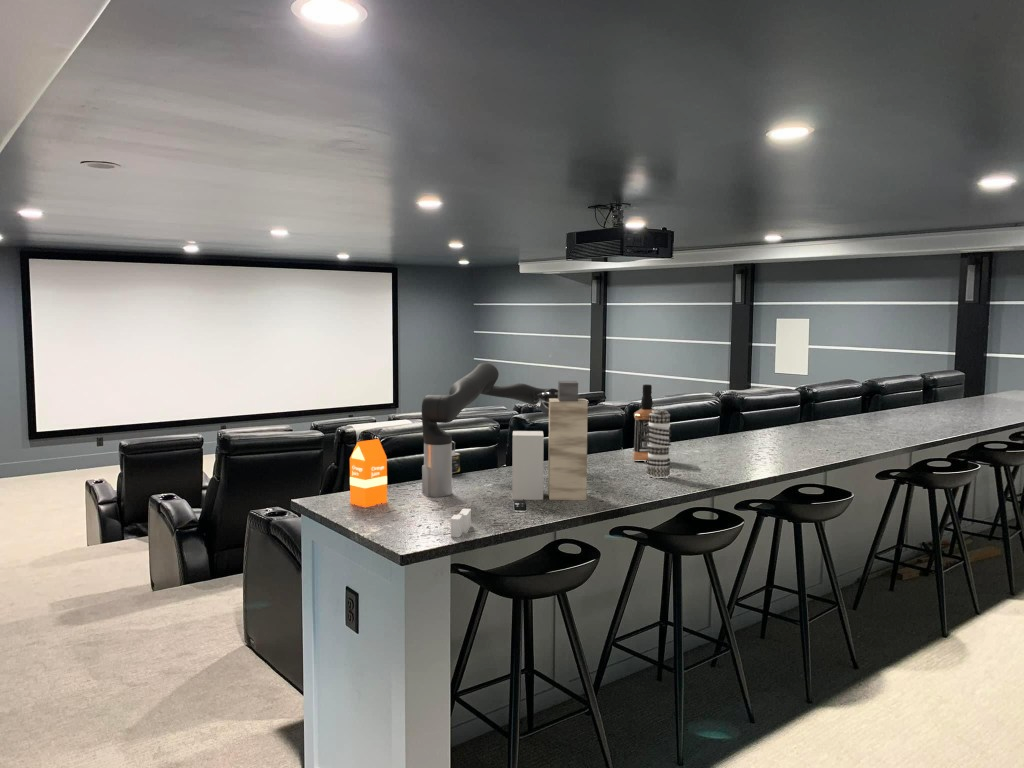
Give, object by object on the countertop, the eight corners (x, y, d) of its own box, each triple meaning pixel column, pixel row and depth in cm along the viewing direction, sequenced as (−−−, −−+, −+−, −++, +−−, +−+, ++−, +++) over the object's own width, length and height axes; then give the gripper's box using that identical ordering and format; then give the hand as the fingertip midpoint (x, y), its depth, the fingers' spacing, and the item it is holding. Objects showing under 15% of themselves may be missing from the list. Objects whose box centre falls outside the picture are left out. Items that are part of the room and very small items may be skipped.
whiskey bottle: (656, 458, 312) (658, 383, 310) (659, 462, 303) (660, 385, 300) (632, 457, 314) (633, 383, 311) (633, 462, 304) (635, 385, 301)
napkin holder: (465, 524, 209) (465, 504, 209) (493, 532, 201) (493, 511, 201) (424, 534, 199) (424, 513, 198) (451, 543, 191) (451, 521, 190)
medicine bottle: (447, 474, 277) (447, 443, 276) (433, 472, 281) (433, 441, 280) (460, 471, 282) (460, 440, 281) (446, 469, 287) (446, 439, 286)
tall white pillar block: (512, 492, 247) (512, 430, 245) (542, 492, 247) (542, 431, 245) (512, 499, 237) (512, 435, 235) (543, 499, 237) (543, 435, 235)
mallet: (556, 395, 254) (556, 378, 254) (573, 395, 254) (574, 378, 254) (559, 401, 235) (559, 382, 235) (578, 401, 235) (578, 382, 235)
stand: (548, 492, 247) (548, 398, 244) (583, 493, 247) (584, 398, 244) (549, 499, 237) (550, 401, 234) (586, 500, 237) (587, 401, 234)
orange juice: (349, 503, 231) (349, 440, 230) (371, 498, 238) (371, 437, 236) (365, 507, 226) (364, 443, 224) (387, 502, 233) (387, 440, 231)
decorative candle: (642, 474, 279) (643, 409, 277) (666, 473, 280) (667, 408, 278) (649, 479, 270) (650, 411, 268) (673, 478, 271) (675, 411, 269)
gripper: (533, 389, 279) (534, 386, 263) (570, 389, 279) (573, 385, 263) (533, 409, 279) (534, 406, 263) (570, 408, 279) (573, 406, 263)
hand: (553, 396), depth 263 cm, fingers open, 8 cm apart
